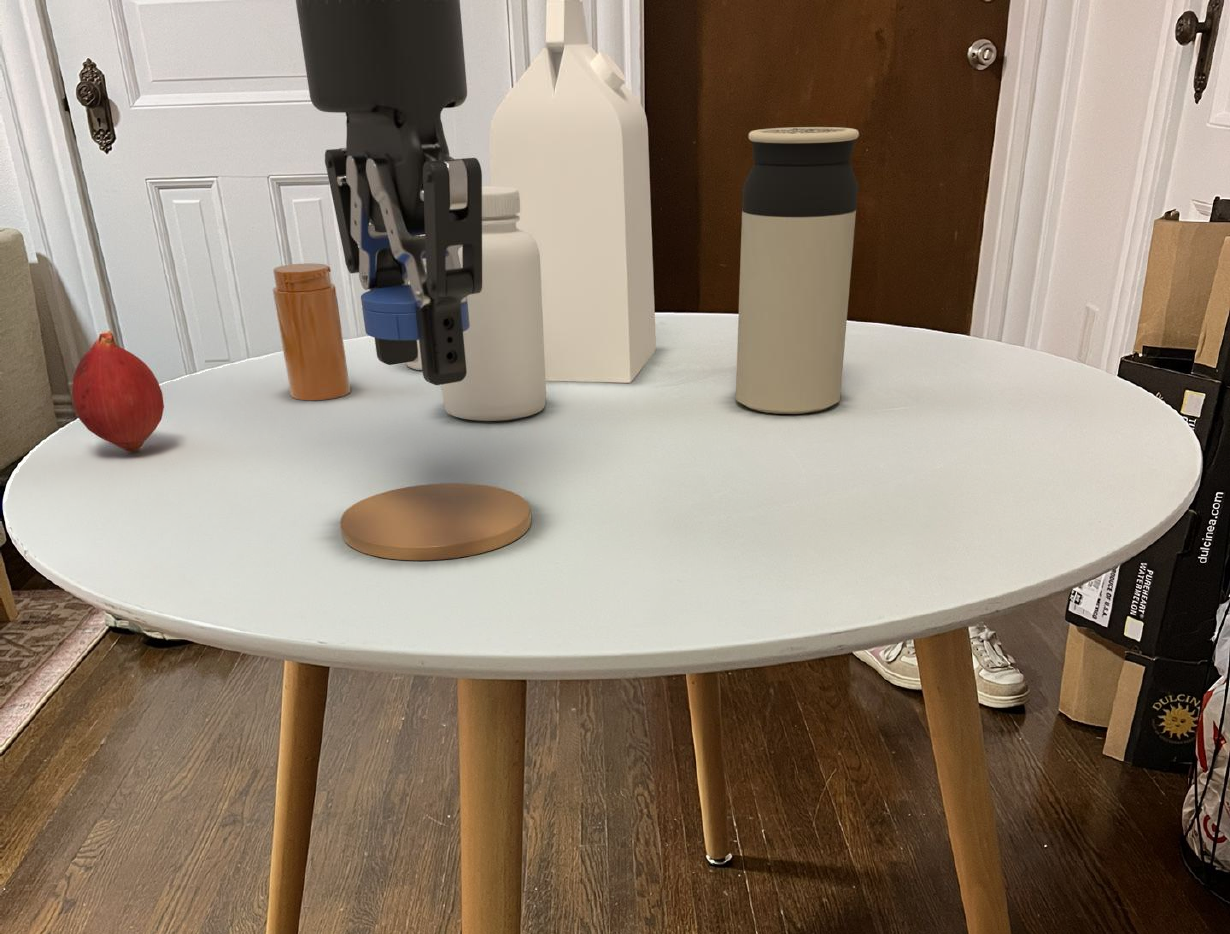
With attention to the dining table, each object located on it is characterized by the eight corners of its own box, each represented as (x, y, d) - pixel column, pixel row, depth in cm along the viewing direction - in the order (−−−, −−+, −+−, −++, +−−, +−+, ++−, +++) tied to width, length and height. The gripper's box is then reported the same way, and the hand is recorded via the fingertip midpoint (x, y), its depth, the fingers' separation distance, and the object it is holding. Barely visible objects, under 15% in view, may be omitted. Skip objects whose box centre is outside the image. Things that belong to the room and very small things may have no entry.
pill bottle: (568, 410, 88) (558, 188, 80) (478, 430, 84) (458, 198, 76) (511, 391, 93) (497, 181, 85) (425, 408, 90) (401, 190, 81)
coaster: (388, 576, 61) (386, 562, 61) (314, 519, 69) (312, 506, 68) (566, 533, 66) (565, 519, 66) (478, 484, 74) (477, 471, 73)
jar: (301, 403, 92) (280, 274, 87) (283, 391, 95) (261, 266, 90) (358, 394, 94) (341, 268, 89) (338, 383, 97) (320, 260, 92)
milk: (533, 348, 107) (513, 5, 92) (655, 350, 105) (654, -1, 90) (496, 379, 97) (467, 1, 83) (630, 382, 95) (624, -5, 80)
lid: (449, 342, 59) (445, 304, 58) (348, 339, 60) (342, 302, 59) (483, 319, 63) (480, 284, 62) (389, 318, 64) (384, 282, 63)
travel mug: (845, 415, 85) (870, 132, 75) (737, 416, 86) (748, 135, 76) (833, 388, 92) (854, 125, 82) (733, 389, 92) (742, 128, 82)
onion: (88, 468, 79) (54, 344, 74) (88, 446, 83) (55, 328, 79) (177, 457, 80) (148, 335, 76) (172, 436, 85) (144, 319, 80)
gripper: (523, -21, 50) (546, 386, 59) (389, -5, 60) (427, 340, 69) (361, -20, 46) (413, 410, 56) (248, -3, 57) (308, 359, 66)
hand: (421, 370), depth 63 cm, fingers closed on lid, 5 cm apart
